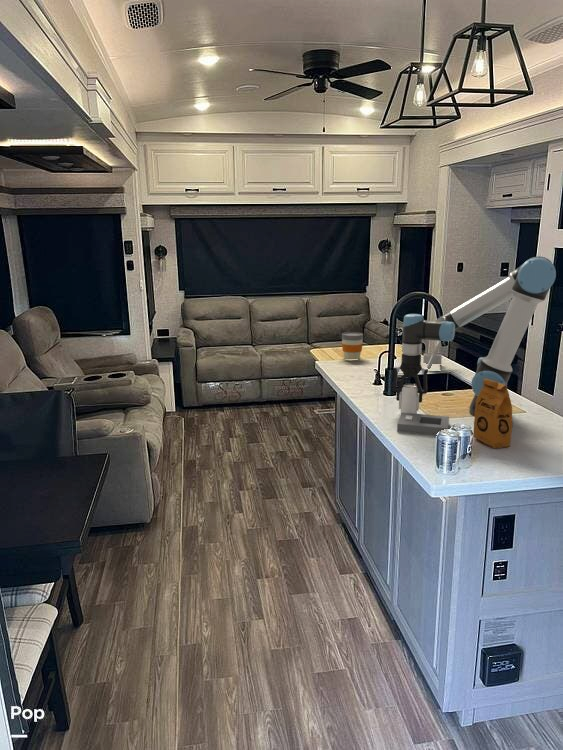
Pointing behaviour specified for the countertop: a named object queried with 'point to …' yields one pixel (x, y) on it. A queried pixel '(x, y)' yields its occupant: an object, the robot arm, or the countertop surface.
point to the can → (409, 398)
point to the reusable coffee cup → (352, 345)
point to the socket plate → (422, 423)
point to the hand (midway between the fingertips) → (408, 408)
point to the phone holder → (433, 356)
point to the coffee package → (493, 415)
